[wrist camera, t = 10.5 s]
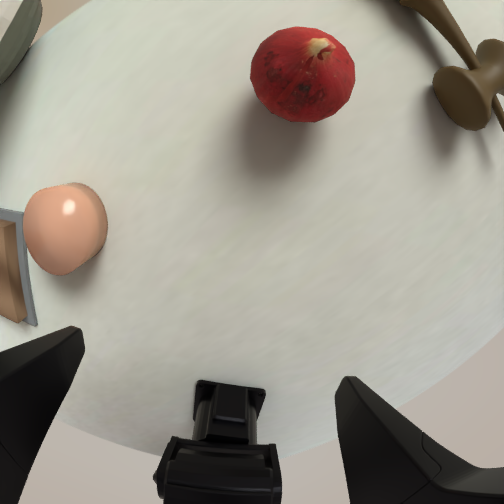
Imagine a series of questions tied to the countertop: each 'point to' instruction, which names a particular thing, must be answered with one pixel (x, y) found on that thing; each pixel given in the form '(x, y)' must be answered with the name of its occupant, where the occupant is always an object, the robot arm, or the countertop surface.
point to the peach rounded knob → (64, 227)
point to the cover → (10, 275)
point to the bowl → (17, 31)
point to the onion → (302, 74)
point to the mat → (22, 262)
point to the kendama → (465, 71)
